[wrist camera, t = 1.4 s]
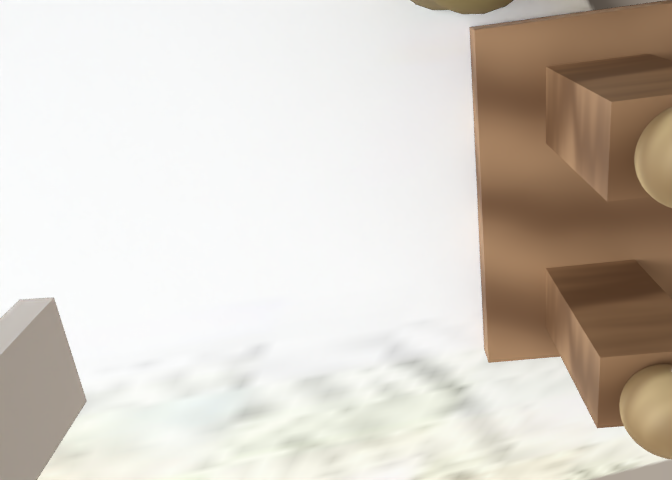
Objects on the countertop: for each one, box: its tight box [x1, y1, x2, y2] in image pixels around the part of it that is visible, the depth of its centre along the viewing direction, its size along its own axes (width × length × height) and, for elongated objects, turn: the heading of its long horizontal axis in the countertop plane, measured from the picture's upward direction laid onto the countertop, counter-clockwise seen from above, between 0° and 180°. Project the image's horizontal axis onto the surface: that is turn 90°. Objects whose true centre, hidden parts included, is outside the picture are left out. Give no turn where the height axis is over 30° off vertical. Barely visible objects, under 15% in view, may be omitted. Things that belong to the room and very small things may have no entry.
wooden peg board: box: [470, 0, 672, 459], centre depth 29 cm, size 20×12×14 cm, turn 8°
